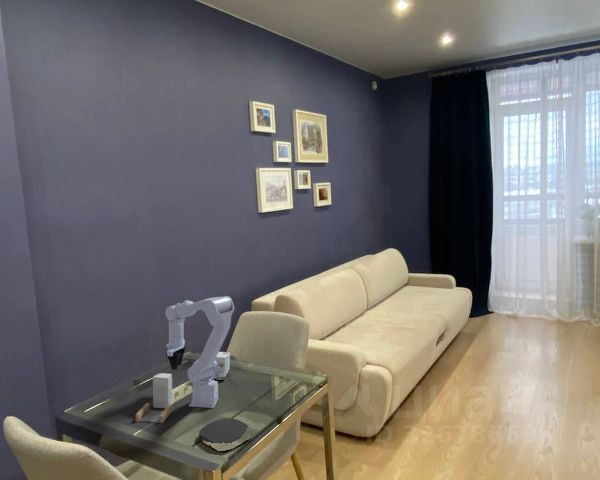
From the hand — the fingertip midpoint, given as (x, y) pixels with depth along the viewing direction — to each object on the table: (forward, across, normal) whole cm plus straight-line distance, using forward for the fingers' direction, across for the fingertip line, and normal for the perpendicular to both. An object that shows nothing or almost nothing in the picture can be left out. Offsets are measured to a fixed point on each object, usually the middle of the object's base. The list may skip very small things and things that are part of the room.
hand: (176, 367), depth 178 cm
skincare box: (+11, +12, -1) cm, 16 cm away
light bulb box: (+11, -16, +12) cm, 23 cm away
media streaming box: (+11, +31, +28) cm, 43 cm away
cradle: (+10, +20, -1) cm, 23 cm away
